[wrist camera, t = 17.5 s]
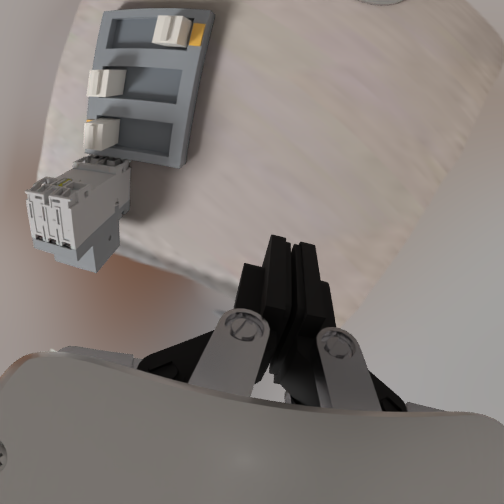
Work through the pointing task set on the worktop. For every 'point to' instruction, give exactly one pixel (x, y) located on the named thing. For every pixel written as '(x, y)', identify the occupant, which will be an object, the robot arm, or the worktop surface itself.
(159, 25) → the tab
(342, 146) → the worktop surface
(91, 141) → the tab
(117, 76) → the tab
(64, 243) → the circuit breaker
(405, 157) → the worktop surface
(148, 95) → the switch bank
